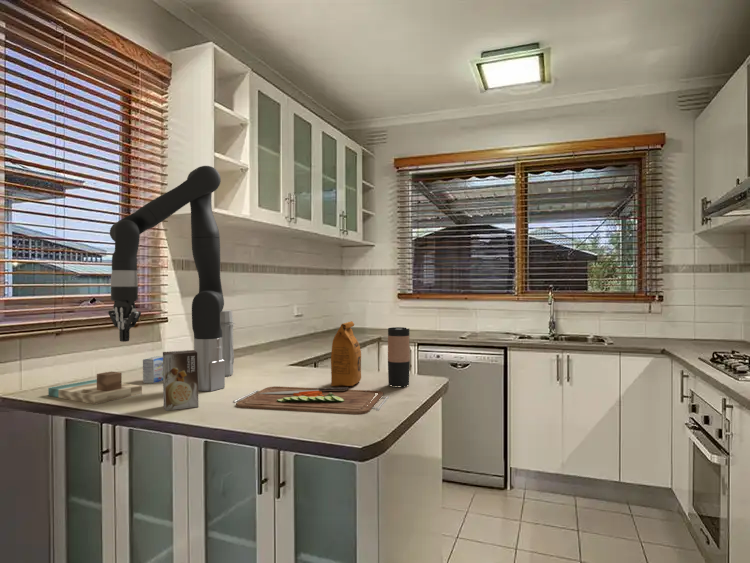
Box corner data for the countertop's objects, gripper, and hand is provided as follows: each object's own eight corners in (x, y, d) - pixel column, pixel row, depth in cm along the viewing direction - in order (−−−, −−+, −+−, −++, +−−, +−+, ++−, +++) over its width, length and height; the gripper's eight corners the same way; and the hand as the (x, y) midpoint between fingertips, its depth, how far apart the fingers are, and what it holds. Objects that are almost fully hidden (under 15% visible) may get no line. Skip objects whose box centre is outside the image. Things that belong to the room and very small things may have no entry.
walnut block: (121, 388, 163) (121, 372, 163) (106, 391, 158) (106, 375, 158) (111, 386, 165) (111, 371, 165) (96, 389, 161) (96, 373, 161)
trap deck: (141, 393, 166) (141, 386, 166) (94, 404, 152) (94, 395, 152) (96, 386, 178) (96, 379, 178) (48, 395, 164) (48, 387, 164)
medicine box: (153, 383, 183) (153, 359, 183) (142, 383, 184) (142, 359, 184) (166, 379, 191) (166, 356, 191) (156, 379, 192) (156, 355, 192)
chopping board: (223, 408, 149) (223, 398, 149) (262, 389, 175) (262, 380, 175) (374, 417, 140) (374, 405, 140) (392, 395, 166) (392, 386, 166)
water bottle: (209, 376, 197) (209, 311, 197) (225, 372, 204) (225, 310, 203) (224, 378, 192) (224, 311, 192) (241, 375, 198) (241, 310, 198)
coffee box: (195, 402, 154) (195, 349, 154) (198, 407, 149) (198, 352, 149) (162, 406, 150) (162, 351, 150) (164, 411, 144) (164, 354, 144)
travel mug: (384, 386, 177) (384, 328, 177) (392, 382, 184) (392, 326, 184) (405, 388, 174) (405, 329, 174) (412, 384, 181) (412, 327, 181)
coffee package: (365, 381, 185) (365, 321, 185) (353, 388, 173) (353, 324, 173) (340, 380, 188) (340, 320, 188) (326, 387, 176) (326, 323, 176)
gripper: (149, 285, 158) (149, 341, 158) (121, 285, 165) (121, 338, 165) (127, 285, 152) (127, 344, 152) (99, 285, 158) (99, 341, 158)
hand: (124, 341), depth 158 cm, fingers closed
